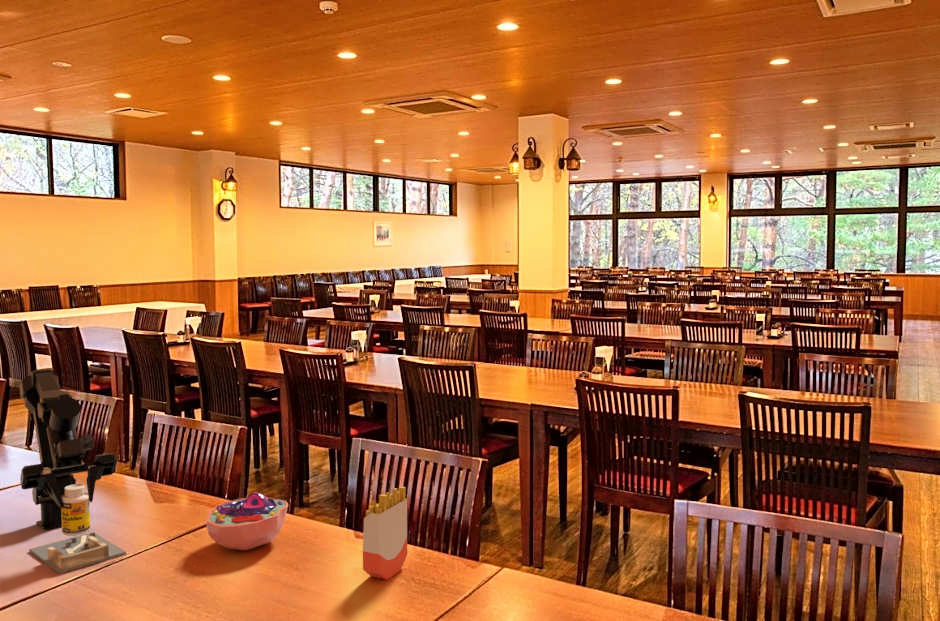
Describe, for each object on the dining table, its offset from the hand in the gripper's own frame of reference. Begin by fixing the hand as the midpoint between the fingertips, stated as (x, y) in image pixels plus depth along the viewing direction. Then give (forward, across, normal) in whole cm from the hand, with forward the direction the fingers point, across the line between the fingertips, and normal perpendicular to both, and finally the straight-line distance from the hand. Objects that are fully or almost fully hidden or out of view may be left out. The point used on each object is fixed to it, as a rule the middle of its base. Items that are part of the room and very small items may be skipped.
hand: (76, 504), depth 169 cm
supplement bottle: (+4, 0, +6) cm, 7 cm away
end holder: (+8, 0, +10) cm, 13 cm away
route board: (+6, +1, +13) cm, 14 cm away
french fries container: (+41, +50, -24) cm, 69 cm away
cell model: (+19, +33, 0) cm, 38 cm away
